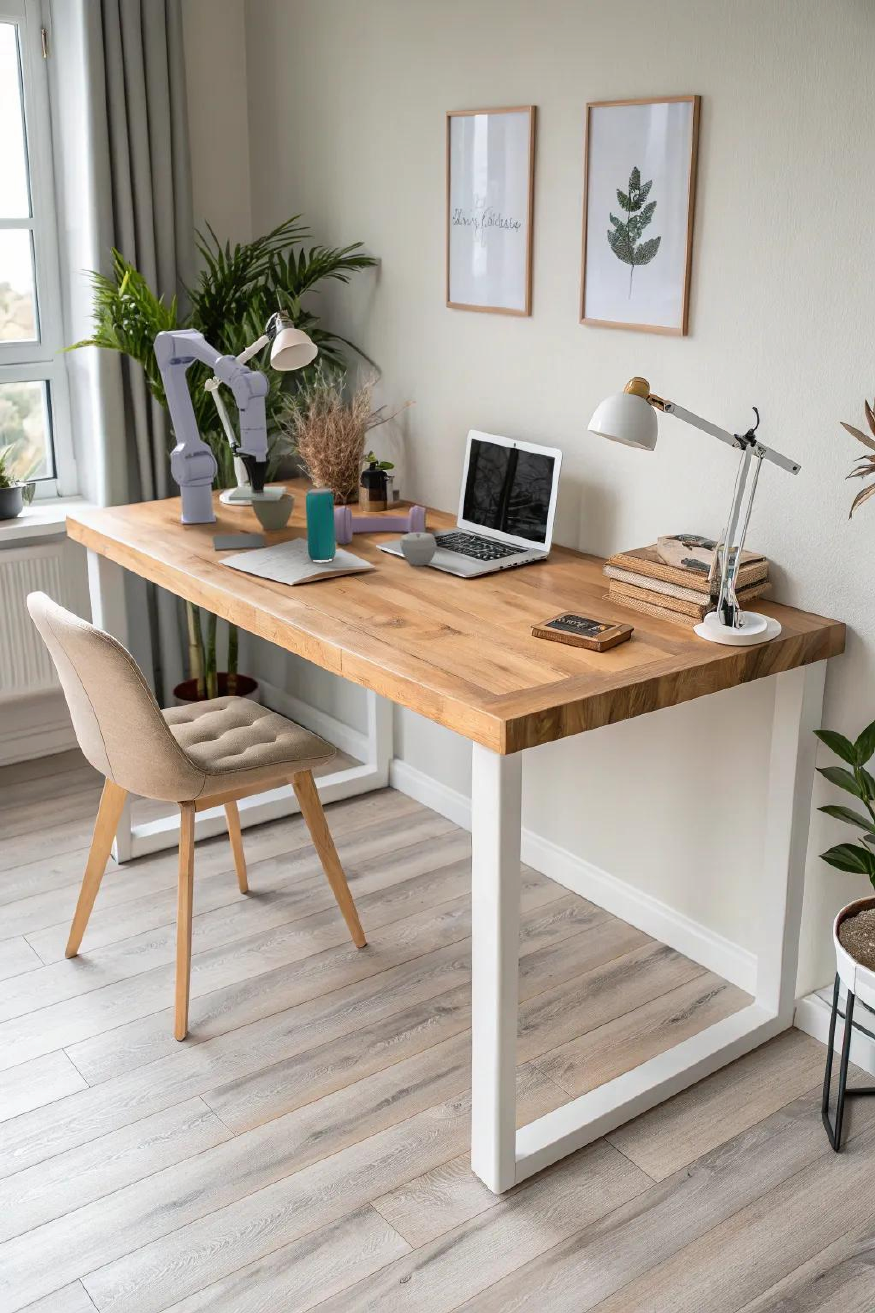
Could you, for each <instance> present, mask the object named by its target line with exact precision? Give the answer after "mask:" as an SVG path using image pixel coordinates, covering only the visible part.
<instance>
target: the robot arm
mask: <svg viewBox="0 0 875 1313" xmlns="http://www.w3.org/2000/svg"><path fill="white" fill-rule="evenodd" d="M152 345H153V350H154V354H155V358H156V362H157V366H158V369H159V372H160V375H161V380H162V383H163V384H162V385H163V388H164V392H165V393H164V394H165V395H166V400H167V405H168V410H169V414H170V417H171V421H172V427H173V429H174V433H175V437H176V442H177V445H175V448H174V449H173V450H172V451H171V453H170V454H169V456H170V460H171V461H170V462H171V465H170V473H171V475H172V478H173V479H174V481H175V482H176V483H177V485H179V486H180V499H181V511H182V512H181V514H180V519H181V524H182V525H188V524H189V525H190V524H204V523H206V524H207V523H216V522H217V519H216V515H215V512H214V507H213V506H214V505H213V494H212V493H213V492H212V491H213V490H212V483H214V478H215V477H216V476H217V473H218V463H217V462H218V461H217V460H216V458H215V456H214V454H213V452H212V449H211V446H210V445H208V443H206V442H204V441H203V440H201V436H200V433H199V428H198V424H197V420H196V416H195V412H194V407H193V403H192V399H191V396H190V395H191V394H190V390H189V386H188V382H187V378H186V371H187V370H188V368H190V367H192V366H191V365H193V364H194V363H195V361H196V360H199V361H200V362H202V363H204V364H205V365H207V366H208V367H210V368H212V369H213V373H214V377H216V378H217V379H218V380H220V381H221V382H223V383H224V384H225V385H227V387H229V388H231V391H232V394H233V396H234V397H235V402H236V406H237V408H238V414H239V428H240V444H241V447H236V449H235V450H236V453H243V454H246V455H241V456H239V457H240V458H239V459H241V462H242V463H243V466H244V468H245V470H246V474H247V479H248V483H249V487H251V481H252V486H253V489H254V490H263V489H264V487H265V482H266V475H267V472H268V467H269V465H270V464H271V459H270V458H266V457H267V455H266V454H267V453H268V451H269V447H268V438H267V436H268V434H267V420H266V419H267V418H266V406H265V405H266V402H265V398H266V397H267V396H268V394H269V392H270V381H269V379H268V377H267V375H266V374H265V373H264V372H263V371H261V370H256V371H254V370H251V369H250V367H249V366H247V365H244V364H243V363H241V362H240V361H238V360H237V356H235V355H234V354H226V355H223V354H221V353H220V352H219V351H217V349H216V348H214V347H213V346H212V345H211V344H209V343H208V342H207V341H206V340H205V336H204V334H203V333H201V332H200V331H199V330H197V329H195V328H189V329H182V330H171V331H164V330H163V331H159V332H158V334H157V335H156V337H155V340H154V342H153V344H152ZM191 454H193V455H191ZM187 455H188V456H187ZM250 476H251V477H250Z"/></svg>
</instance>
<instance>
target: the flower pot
mask: <svg viewBox="0 0 875 1313" xmlns="http://www.w3.org/2000/svg"><path fill="white" fill-rule="evenodd" d="M250 501H251V505H252V509H253V512H254V514H255V517H256V518H257V521H258V522H259V524H260V525H261V526H262V528H263V529H265V530H282V529H284V528H286V526H287V525H288V522H289V521H290V518H291V515H292V512H293V508H294V503H295V495H294V494H291V493H286V492H284V493H283V495H282V496H281V497H280V499H279V500H250Z"/></svg>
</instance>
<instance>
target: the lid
mask: <svg viewBox="0 0 875 1313" xmlns="http://www.w3.org/2000/svg"><path fill="white" fill-rule="evenodd" d="M250 477H251V476H250ZM286 491H287V486H264V489H263V490H254V489H253V486H252V481H251V486H237V487H236V489H235V490H233V492H232V493H231V494H230V495H229V496H228V501H231V502H232V501H233V502H234V501H238V502H239V501H240V502H241V501H251V500H279V499H280V497H281V496H282V495H283V493H286Z"/></svg>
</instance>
